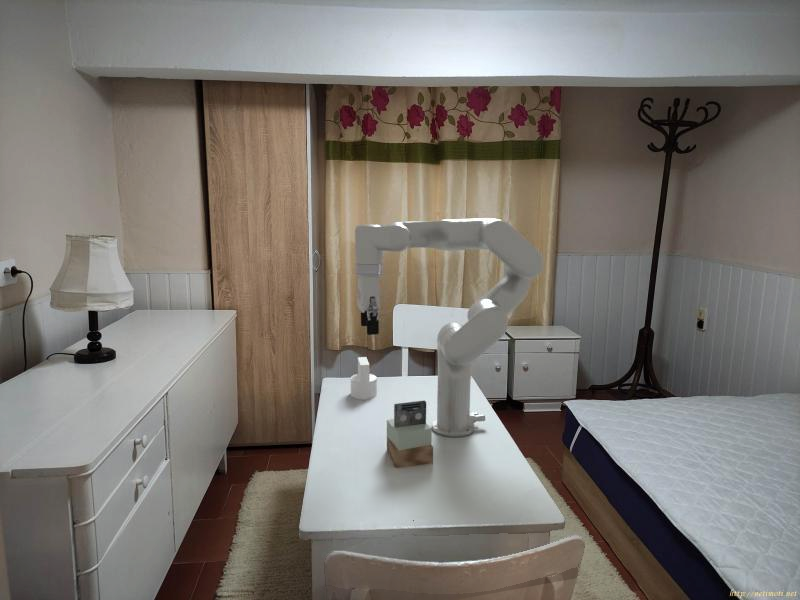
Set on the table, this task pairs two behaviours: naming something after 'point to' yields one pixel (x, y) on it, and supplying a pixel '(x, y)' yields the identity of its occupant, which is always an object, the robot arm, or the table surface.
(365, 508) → the table surface
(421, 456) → the tower base block
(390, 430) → the tower top block
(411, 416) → the mini dv tape
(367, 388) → the base with upright slab
